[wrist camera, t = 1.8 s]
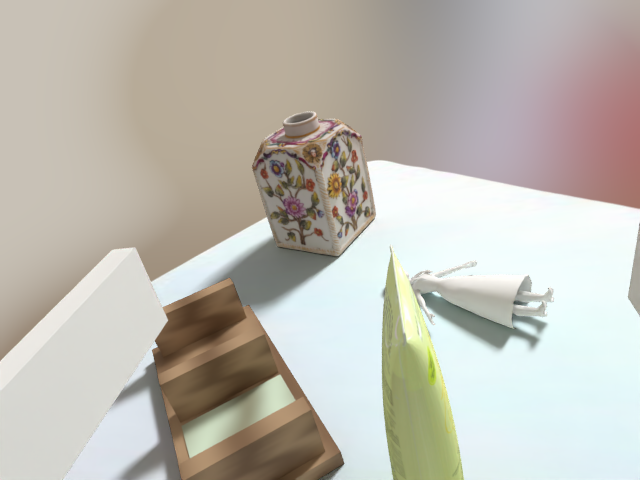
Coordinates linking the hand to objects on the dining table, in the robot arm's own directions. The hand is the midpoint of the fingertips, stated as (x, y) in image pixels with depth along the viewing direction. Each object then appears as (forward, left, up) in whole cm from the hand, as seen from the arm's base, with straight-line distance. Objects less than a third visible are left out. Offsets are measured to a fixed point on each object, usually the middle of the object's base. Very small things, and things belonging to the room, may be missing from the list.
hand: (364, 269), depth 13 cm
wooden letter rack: (+5, -26, -27) cm, 38 cm away
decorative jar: (-17, -49, -27) cm, 59 cm away
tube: (-5, -8, -27) cm, 29 cm away
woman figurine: (-21, -24, -28) cm, 42 cm away
